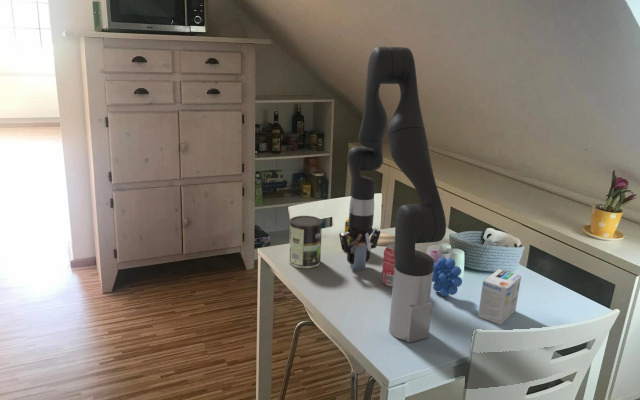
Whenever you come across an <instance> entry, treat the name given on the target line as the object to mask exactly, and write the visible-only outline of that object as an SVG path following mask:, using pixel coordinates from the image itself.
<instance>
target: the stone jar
mask: <svg viewBox="0 0 640 400" xmlns="http://www.w3.org/2000/svg"><path fill="white" fill-rule="evenodd" d="M353 243H354V241H353ZM366 252H367V244H366V242H360V243H358V245H357V247H356V248H355V250H354V263H353V264H350V263H349V268H350V269H351V270H353V271H358V272H359V271H364V270H366V264H367V262H366Z"/></svg>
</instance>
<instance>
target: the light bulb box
mask: <svg viewBox="0 0 640 400" xmlns="http://www.w3.org/2000/svg"><path fill="white" fill-rule="evenodd" d="M521 281H522V275H520V274H517V273H513V272H512V271H511V272H510V271H507V270H504V269H501V268H497V269H496V270H495V271H494V272H493V273H492V274H491V275H489V276H488V277H487V278H485V279H484V280H483V281H482V287H481V292H480V301H479V306H478V307H479V308H478V315H477V316H478V318H481V319H483V320H487V321H489V322H492V323H495V324H497V325H500V326H502V325H503V323H504V322H505V321H507V320H508V319H509V318H510V317H511V315H513V313H515V312H516V310H517V309H516V308H517V304H518V300H519V299H518V298H519V292H520V287H521Z"/></svg>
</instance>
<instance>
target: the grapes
mask: <svg viewBox="0 0 640 400" xmlns="http://www.w3.org/2000/svg"><path fill="white" fill-rule="evenodd" d="M461 273H462V268H461V267H460V266H457V265H456V261H455V260H454V259H453V258H448V259H447V258H446V257H439V258H438V260H437V262H434V268H433V277H432V283H433V284H432V289H433V290H434V291H435V292H439V293H440V295H441V297H447V296H449V295H450V296H454V295H456V294H457V293H458V289H459V287H461V286H462V284H463V279H462V278H461V277H460V275H461Z"/></svg>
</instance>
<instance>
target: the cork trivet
mask: <svg viewBox="0 0 640 400" xmlns="http://www.w3.org/2000/svg"><path fill="white" fill-rule="evenodd" d="M371 236H372V234H371V235H370V237H369V239H371ZM389 243H395V235H394V234H391V233H387V232H382V231H380V236H379V239H378V242H377V245H376V246H381V247H383V246H384V247H385V246H386V247H387V244H389Z"/></svg>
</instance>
